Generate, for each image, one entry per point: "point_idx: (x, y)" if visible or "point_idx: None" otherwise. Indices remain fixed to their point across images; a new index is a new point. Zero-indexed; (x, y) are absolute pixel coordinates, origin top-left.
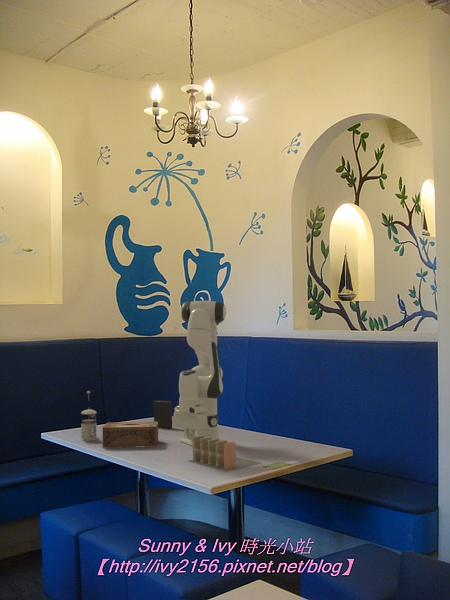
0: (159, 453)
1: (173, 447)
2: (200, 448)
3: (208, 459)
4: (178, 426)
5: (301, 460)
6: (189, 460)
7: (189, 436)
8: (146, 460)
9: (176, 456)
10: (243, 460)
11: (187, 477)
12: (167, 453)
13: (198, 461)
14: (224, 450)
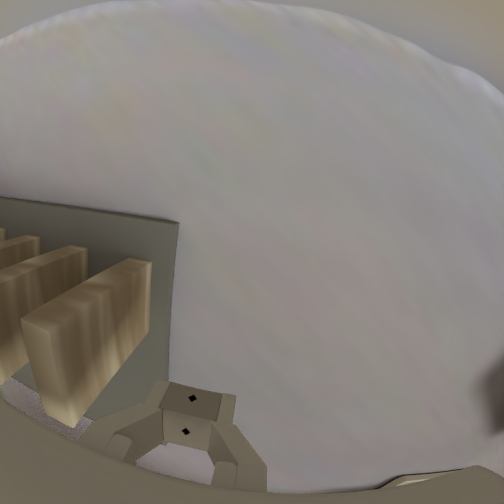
0: (478, 317)
1: (461, 424)
2: (31, 270)
3: (21, 241)
4: (402, 489)
5: None
6: (166, 243)
7: (167, 398)
8: (447, 139)
9: (369, 328)
10: (23, 370)
11: (30, 46)
12: (447, 344)
13: (107, 256)
14: None
